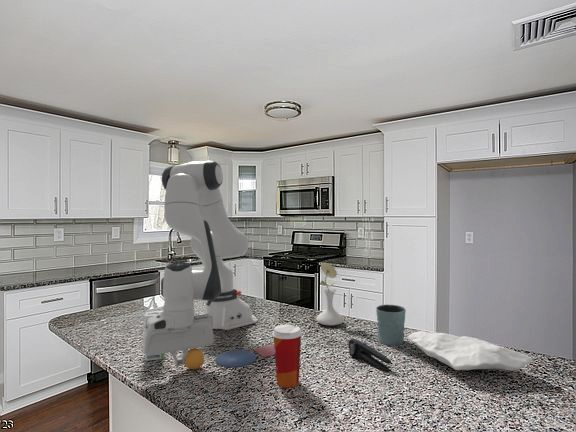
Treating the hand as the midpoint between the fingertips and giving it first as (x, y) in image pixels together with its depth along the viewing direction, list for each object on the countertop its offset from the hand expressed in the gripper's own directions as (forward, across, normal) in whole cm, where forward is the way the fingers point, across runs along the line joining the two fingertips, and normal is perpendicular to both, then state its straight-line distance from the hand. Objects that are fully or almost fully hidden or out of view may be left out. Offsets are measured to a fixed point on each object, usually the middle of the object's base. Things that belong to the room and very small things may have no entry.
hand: (179, 364), depth 111 cm
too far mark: (+2, -30, -1) cm, 30 cm away
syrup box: (+2, +4, -15) cm, 16 cm away
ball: (-1, -4, 0) cm, 4 cm away
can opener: (+2, -53, +22) cm, 58 cm away
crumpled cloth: (+2, -75, +39) cm, 84 cm away
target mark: (+2, -18, -1) cm, 18 cm away
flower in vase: (+1, -64, -16) cm, 66 cm away
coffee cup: (+2, -24, +22) cm, 33 cm away
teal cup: (+2, -71, +13) cm, 72 cm away
